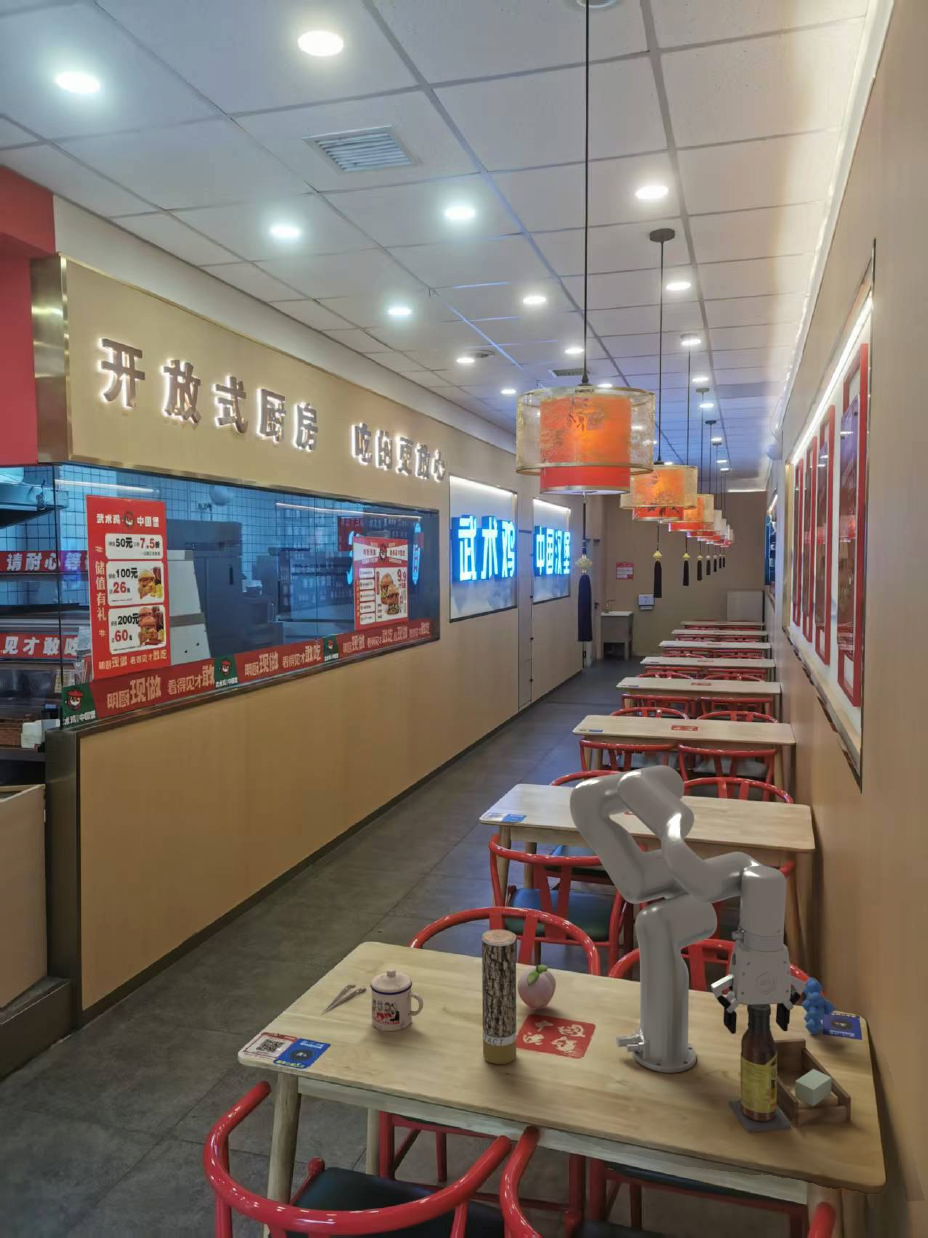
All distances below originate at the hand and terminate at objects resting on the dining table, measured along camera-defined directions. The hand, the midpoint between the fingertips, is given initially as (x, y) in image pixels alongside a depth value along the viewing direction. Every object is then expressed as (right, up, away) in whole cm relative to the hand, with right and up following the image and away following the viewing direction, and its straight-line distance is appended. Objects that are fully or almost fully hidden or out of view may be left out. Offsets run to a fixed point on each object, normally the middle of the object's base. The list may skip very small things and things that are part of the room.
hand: (756, 1028), depth 159 cm
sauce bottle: (0, -15, 0) cm, 15 cm away
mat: (+1, -16, 0) cm, 16 cm away
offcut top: (+11, -13, +1) cm, 16 cm away
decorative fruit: (-36, -14, +39) cm, 55 cm away
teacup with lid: (-67, -15, +34) cm, 76 cm away
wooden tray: (+10, -15, +6) cm, 19 cm away
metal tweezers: (-81, -15, +43) cm, 93 cm away
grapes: (+22, -14, +28) cm, 38 cm away
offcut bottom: (+11, -16, +1) cm, 19 cm away
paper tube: (-45, -15, +20) cm, 52 cm away
